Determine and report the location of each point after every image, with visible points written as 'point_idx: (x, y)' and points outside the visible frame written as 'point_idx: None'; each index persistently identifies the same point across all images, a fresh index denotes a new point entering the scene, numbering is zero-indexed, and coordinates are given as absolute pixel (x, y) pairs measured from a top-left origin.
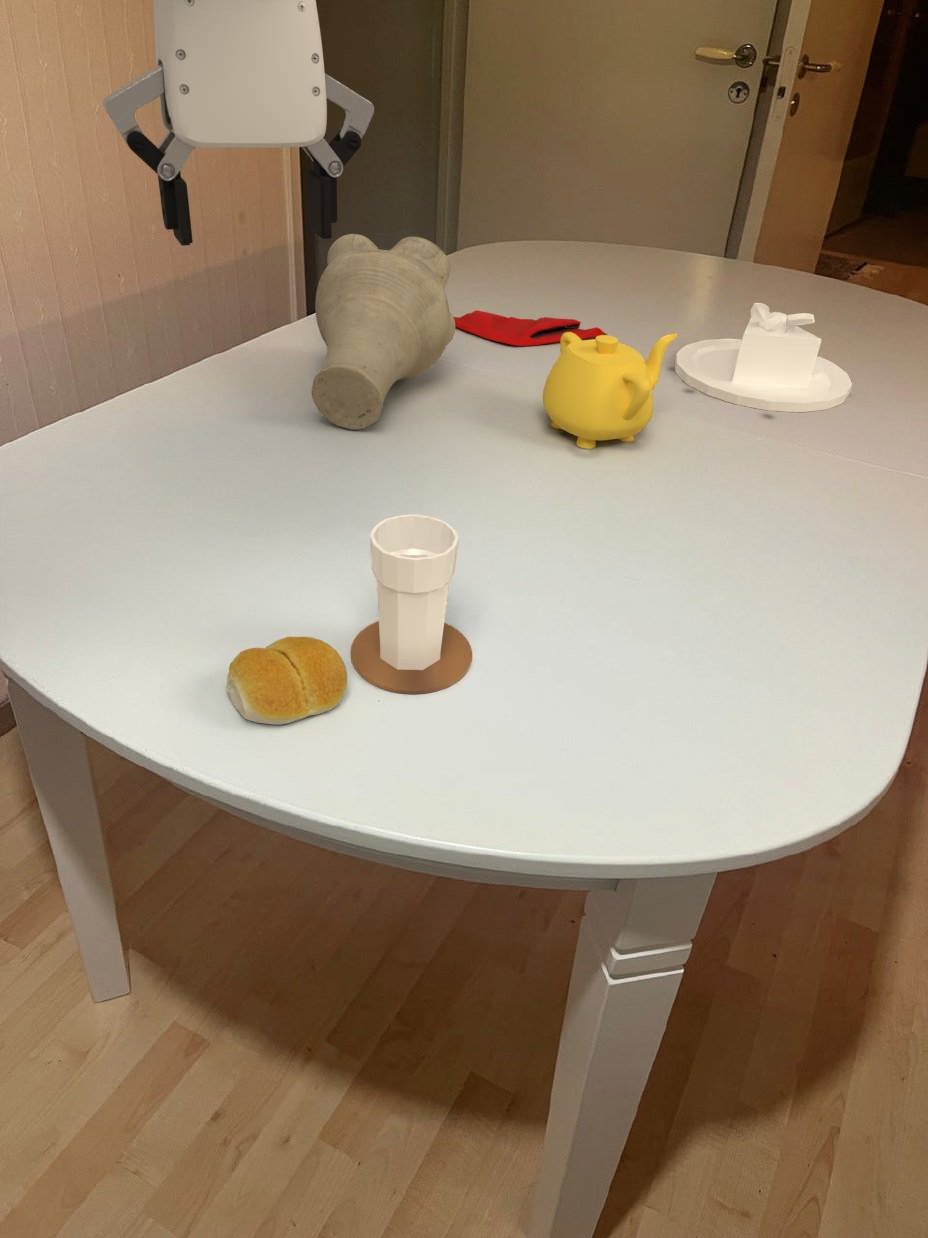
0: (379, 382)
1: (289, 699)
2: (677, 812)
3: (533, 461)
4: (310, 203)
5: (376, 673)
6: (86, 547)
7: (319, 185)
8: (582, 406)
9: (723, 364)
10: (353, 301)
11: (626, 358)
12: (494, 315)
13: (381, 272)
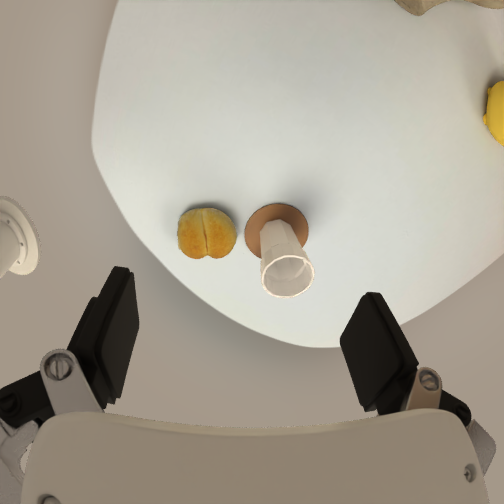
0: (428, 8)
1: (198, 258)
2: (301, 333)
3: (458, 111)
4: (374, 331)
5: (251, 241)
6: (146, 48)
7: (360, 399)
8: (500, 127)
9: None
10: None
11: None
12: None
13: None
